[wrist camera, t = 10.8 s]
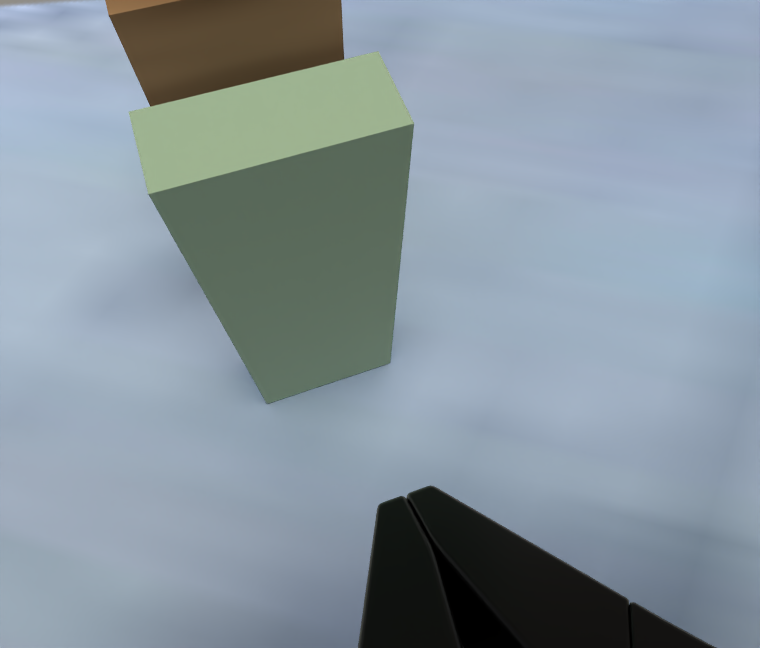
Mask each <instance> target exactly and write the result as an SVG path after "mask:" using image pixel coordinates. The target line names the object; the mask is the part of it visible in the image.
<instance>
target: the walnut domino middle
mask: <svg viewBox="0 0 760 648" xmlns="http://www.w3.org/2000/svg"><path fill="white" fill-rule="evenodd" d="M105 1H106V5H107V10H108V14H109V17H110V19H111V21H112V23H113V26H114V28H115V30H116V32H117V34H118V37H119V39H120V41H121V43H122V45H123V47H124V50H125V52H126V54H127V56H128V58H129V61H130V63H131V65H132V67H133V69H134V72H135V74H136V76H137V78H138V80H139V82H140V85H141V87H142V89H143V91H144V93H145V96H146V98H147V100H148V102H149V104H150V106H155V105H160V104H164V103H168V102H172V101H176V100H180V99H184V98H188V97H192V96H197V95H201V94H205V93H209V92H213V91H217V90H221V89H225V88H229V87H234V86H238V85H242V84H246V83H250V82H254V81H258V80H262V79H266V78H271V77H275V76H279V75H283V74H287V73H291V72H295V71H299V70H303V69H308V68H312V67H316V66H320V65H324V64H328V63H332V62H336V61H340V60H344V49H343V28H342V7H341V0H105Z"/></svg>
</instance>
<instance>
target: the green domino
mask: <svg viewBox="0 0 760 648" xmlns="http://www.w3.org/2000/svg"><path fill="white" fill-rule="evenodd" d="M129 115H130V119H131V123H132V128H133V132H134V136H135V140H136V144H137V148H138V152H139V157H140V161H141V165H142V169H143V173H144V177H145V182H146V186H147V190H148V194H149V196H150V198H151V199H152V201H153V203H154V205H155V207H156V208H157V210H158V212H159V214H160V215H161V217H162V219H163V221H164V222H165V224H166V226H167V228H168V230H169V231H170V233H171V235H172V237H173V238H174V240H175V242H176V244H177V245H178V247H179V249H180V251H181V253H182V254H183V256H184V258H185V260H186V261H187V263H188V265H189V267H190V268H191V270H192V272H193V274H194V276H195V277H196V279H197V281H198V283H199V284H200V286H201V288H202V290H203V291H204V293H205V295H206V297H207V299H208V300H209V302H210V304H211V306H212V307H213V309H214V311H215V313H216V314H217V316H218V318H219V320H220V322H221V323H222V325H223V327H224V329H225V330H226V332H227V334H228V336H229V337H230V339H231V341H232V343H233V345H234V346H235V348H236V350H237V352H238V353H239V355H240V357H241V359H242V360H243V362H244V364H245V366H246V368H247V369H248V371H249V373H250V375H251V376H252V378H253V380H254V382H255V383H256V385H257V387H258V389H259V391H260V392H261V394H262V396H263V398H264V399H265V401H266V403H267V404H269V403H272V402H275V401H278V400H281V399H284V398H287V397H290V396H293V395H296V394H299V393H302V392H305V391H308V390H311V389H314V388H317V387H320V386H323V385H326V384H329V383H332V382H335V381H338V380H341V379H344V378H347V377H350V376H353V375H356V374H359V373H362V372H365V371H368V370H371V369H374V368H377V367H380V366H383V365H386V364H389V363H390V360H391V350H392V340H393V330H394V320H395V310H396V300H397V290H398V280H399V270H400V259H401V249H402V239H403V229H404V219H405V209H406V199H407V189H408V179H409V169H410V159H411V149H412V139H413V129H414V122H413V120H412V118H411V116H410V114H409V112H408V110H407V108H406V106H405V104H404V102H403V100H402V98H401V96H400V94H399V92H398V90H397V88H396V86H395V84H394V82H393V80H392V78H391V76H390V74H389V72H388V70H387V68H386V66H385V64H384V62H383V60H382V58H381V56H380V54H379V52H373V53H369V54H365V55H361V56H357V57H353V58H349V59H345V60H340V61H336V62H332V63H328V64H324V65H320V66H316V67H312V68H308V69H303V70H299V71H295V72H291V73H287V74H283V75H279V76H275V77H271V78H266V79H262V80H258V81H254V82H250V83H246V84H242V85H238V86H234V87H229V88H225V89H221V90H217V91H213V92H209V93H205V94H201V95H197V96H192V97H188V98H184V99H180V100H176V101H172V102H168V103H164V104H160V105H155V106H151V107H147V108H143V109H139V110H135V111H131V112H129Z"/></svg>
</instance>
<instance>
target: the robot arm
mask: <svg viewBox="0 0 760 648" xmlns="http://www.w3.org/2000/svg"><path fill="white" fill-rule="evenodd" d="M358 648H716V647H714V646H712V645H710V644H708V643H706V642H704V641H702V640H701V639H699V638H697V637H695V636H693V635H692V634H690V633H688V632H686V631H684V630H682V629H681V628H679V627H677V626H675V625H673V624H671V623H670V622H668V621H666V620H664V619H662V618H661V617H659V616H657V615H655V614H654V613H652V612H650V611H649V610H647V609H645V608H643V607H642V606H640V605H638V604H637V603H635V602H632V603H630V605H629V600H628V599H627V598H626V597H624V596H622V595H621V594H619V593H617V592H615V591H614V590H612V589H610V588H608V587H607V586H605V585H603V584H602V583H600V582H598V581H596V580H595V579H593V578H591V577H590V576H588V575H586V574H584V573H583V572H581V571H579V570H577V569H576V568H574V567H572V566H571V565H569V564H567V563H565V562H564V561H562V560H560V559H559V558H557V557H555V556H553V555H552V554H550V553H548V552H547V551H545V550H543V549H541V548H540V547H538V546H536V545H534V544H533V543H531V542H529V541H528V540H526V539H524V538H522V537H521V536H519V535H517V534H516V533H514V532H512V531H510V530H509V529H507V528H505V527H503V526H502V525H500V524H498V523H497V522H495V521H493V520H491V519H490V518H488V517H486V516H485V515H483V514H481V513H479V512H478V511H476V510H474V509H472V508H471V507H469V506H467V505H466V504H464V503H462V502H460V501H459V500H457V499H455V498H454V497H452V496H450V495H448V494H447V493H445V492H443V491H441V490H440V489H438V488H436V487H434V486H427V487H424V488H422V489H419V490H416V491H413V492H411V493H409V494H408V495H407V499H406V498H405V497H403V496H399V497H397V498H394V499H391V500H388V501H386V502H383V503H381V504H379V506H378V508H377V514H376V522H375V529H374V536H373V543H372V550H371V557H370V565H369V572H368V579H367V586H366V593H365V600H364V608H363V615H362V622H361V629H360V636H359V643H358Z"/></svg>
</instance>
